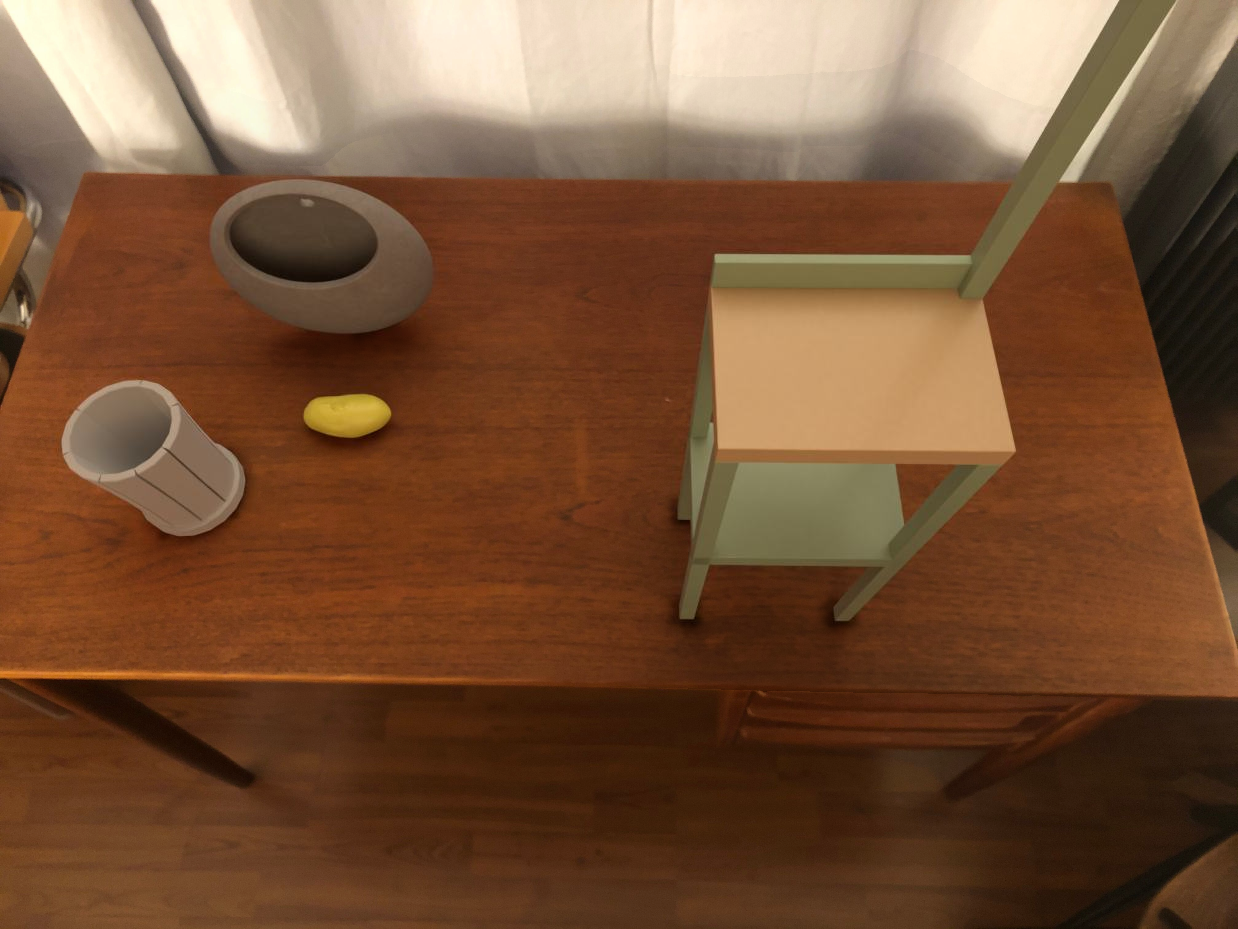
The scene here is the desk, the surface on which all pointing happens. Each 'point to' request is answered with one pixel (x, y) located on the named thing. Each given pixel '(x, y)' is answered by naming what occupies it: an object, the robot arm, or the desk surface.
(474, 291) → the desk surface
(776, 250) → the desk surface
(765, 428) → the mint side table
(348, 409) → the yellow potato
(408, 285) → the planter
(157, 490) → the cup
